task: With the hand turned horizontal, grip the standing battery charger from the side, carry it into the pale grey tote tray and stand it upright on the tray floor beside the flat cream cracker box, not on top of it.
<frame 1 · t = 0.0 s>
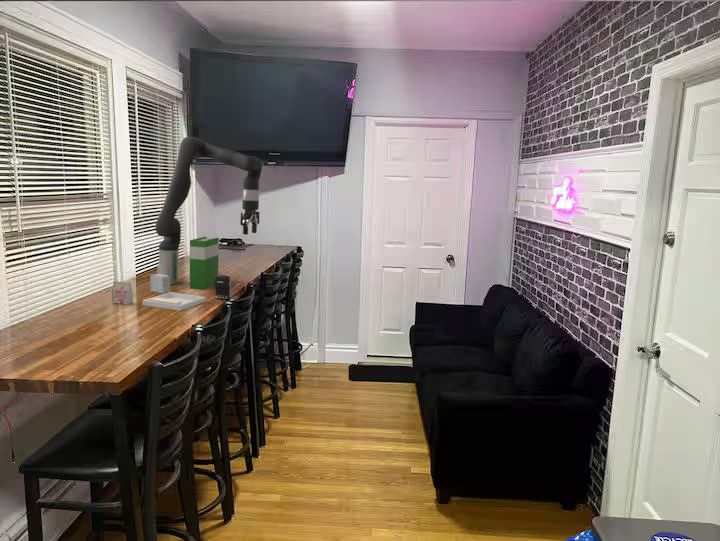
hand: (249, 233, 235), 29 cm above the bar counter, tool pointing down, fingers open, 8 cm apart
tote tray: (175, 305, 209), on the bar counter
hardback book: (204, 286, 250), on the bar counter
medicine box: (160, 294, 228), on the bar counter
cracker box: (166, 306, 204), resting on tote tray
tea bag: (122, 305, 204), on the bar counter
battery charger: (222, 300, 224), on the bar counter
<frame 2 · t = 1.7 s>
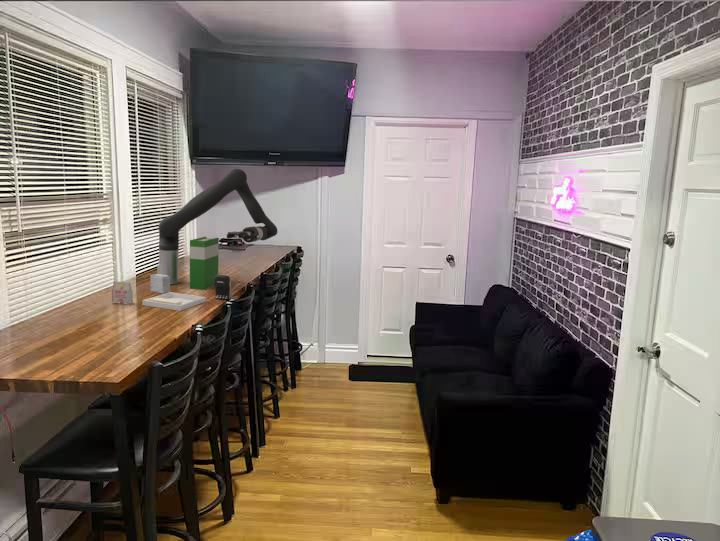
hand: (235, 237, 230), 28 cm above the bar counter, tool horizontal, fingers open, 8 cm apart
nothing on the bar counter moved.
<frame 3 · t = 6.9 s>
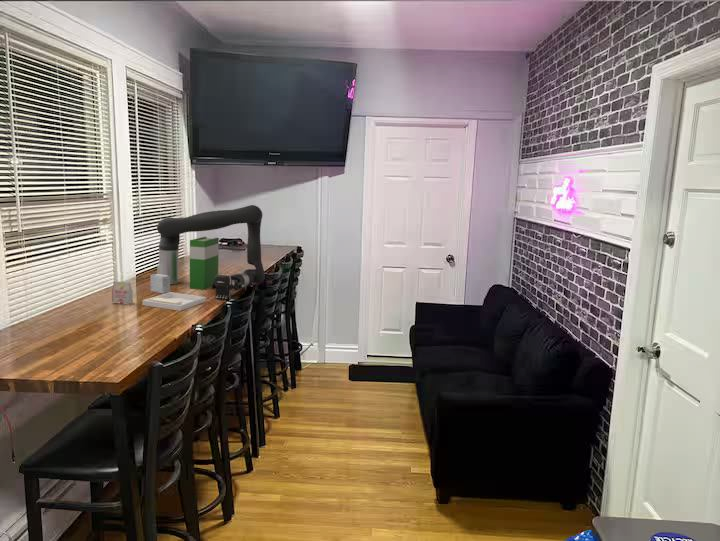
hand: (219, 287, 221), 6 cm above the bar counter, tool horizontal, fingers closed on battery charger, 7 cm apart
battery charger: (222, 300, 224), on the bar counter, touching gripper
everything else where it was.
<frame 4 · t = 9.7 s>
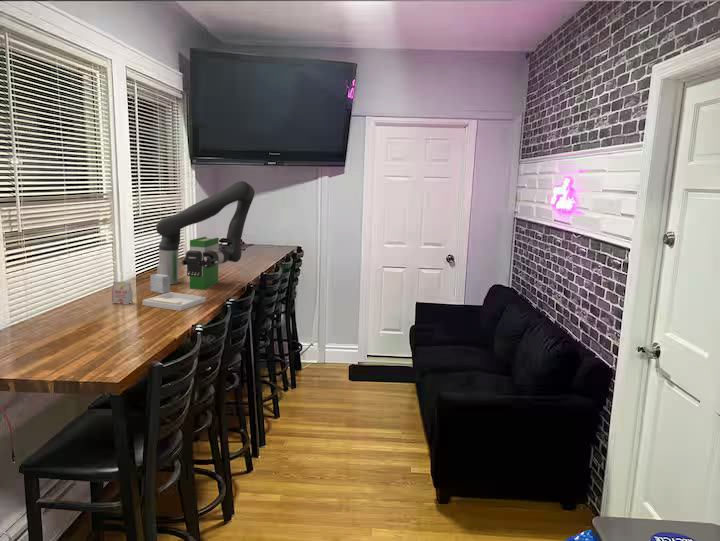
hand: (191, 263, 210), 18 cm above the bar counter, tool horizontal, fingers closed on battery charger, 7 cm apart
battery charger: (194, 276, 214), point 12 cm above the bar counter, touching gripper
everything else where it was.
when the fingers open (8 cm above the bar counter, at t = 12.6 s): battery charger drops 1 cm, resting on tote tray.
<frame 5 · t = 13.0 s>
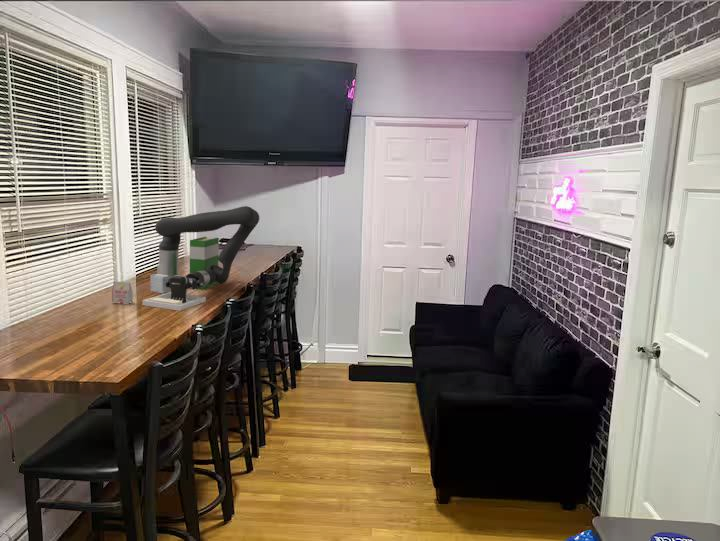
hand: (175, 285, 208), 8 cm above the bar counter, tool horizontal, fingers open, 8 cm apart
battery charger: (178, 302, 211), point 1 cm above the bar counter, touching tote tray
everything else where it was.
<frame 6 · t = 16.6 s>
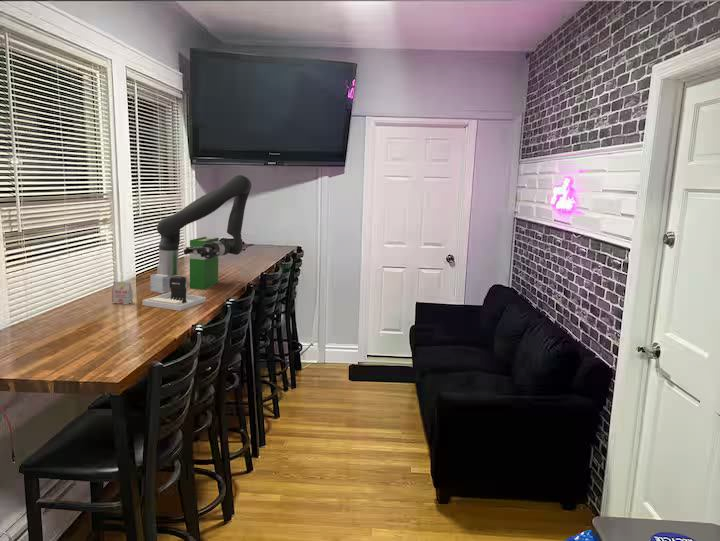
hand: (193, 253, 218), 21 cm above the bar counter, tool horizontal, fingers open, 8 cm apart
nothing on the bar counter moved.
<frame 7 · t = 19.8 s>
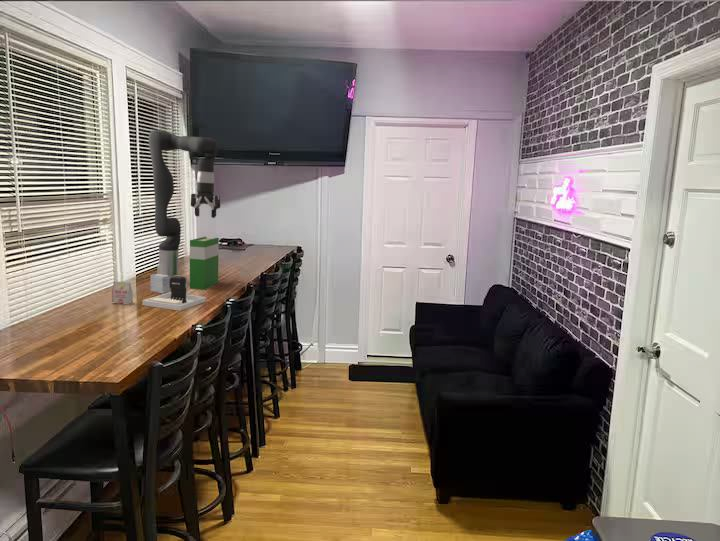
hand: (205, 216, 231), 36 cm above the bar counter, tool pointing down, fingers open, 8 cm apart
nothing on the bar counter moved.
at the end: battery charger inside the target area on the tote tray (0.2 cm from its centre), point 0.8 cm above the tote tray's base; battery charger tilted 0°; battery charger touching tote tray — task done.
